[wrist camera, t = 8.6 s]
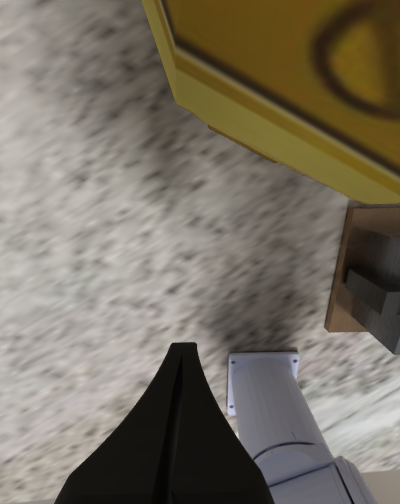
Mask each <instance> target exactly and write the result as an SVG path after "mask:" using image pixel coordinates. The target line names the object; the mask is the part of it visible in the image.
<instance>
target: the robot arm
mask: <svg viewBox="0 0 400 504" xmlns="http://www.w3.org/2000/svg"><path fill="white" fill-rule="evenodd" d="M294 359H295V360H294ZM299 360H300V355H299V354H298V352H257V353H231V354H230V355H229V359H228V393H227V413H228V414H229V415H236V420H237V426H238V433H239V439H240V441H239V439H238V438H237V436H236V435H235V433H234V431H233V430H232V428H231V427H230V425H229V423H228V422H227V420H226V419H225V417H224V415H223V413H222V411H221V410H220V408H219V406H218V404H217V402H216V400H215V398H214V396H213V394H212V392H211V390H210V387H209V385H208V383H207V380H206V378H205V375H204V372H203V369H202V367H201V363H200V360H199V356H198V351H197V344H196V343H195V342H184V343H172V344H171V345H170V348H169V350H168V353H167V355H166V357H165V359H164V361H163V363H162V364H161V366H160V368H159V370H158V372H157V373H156V375H155V377H154V378H153V380H152V382H151V383H150V385H149V386H148V388H147V389H146V391H145V392H144V394H143V395H142V397H141V398H140V399H139V401H138V402H137V403H136V405H135V406H134V407H133V409H132V410H131V411H130V412H129V414H128V415H127V416H126V417H125V419H124V420H123V421H122V422H121V423H120V425H119V426H118V427H117V428H116V429H115V430H114V431H113V432H112V433H111V435H110V436H109V437H108V438H107V439H106V440H105V441H104V442H103V443H102V444H101V445H100V446H99V447H98V448H97V449H96V450H95V451H94V452H93V453H92V454H91V455H90V456H89V457H88V458H87V459H86V460H85V461H84V462H83V463H82V464H81V465H80V466H79V467H77V468H76V469H75V470H74V471H73V472H72V473H71V474H70V475H69V477H68V479H67V480H66V482H65V484H64V486H63V488H62V490H61V491H60V493H59V495H58V497H57V499H56V501H55V503H54V504H377V502H376V500H375V498H374V497H373V495H372V493H371V491H370V490H369V488H368V486H367V484H366V483H365V481H364V479H363V477H362V476H361V474H360V472H359V471H358V469H357V467H356V466H355V464H354V463H352V462H350V461H348V460H346V459H345V458H344V457H343V456H338V457H336V458H334V457H333V455H332V454H331V452H330V450H329V448H328V446H327V444H326V442H325V440H324V438H323V436H322V434H321V431H320V429H319V427H318V425H317V423H316V421H315V419H314V417H313V415H312V413H311V411H310V409H309V407H308V404H307V402H306V400H305V398H304V396H303V394H302V392H301V390H300V388H299V386H298V384H297V382H296V378H297V372H298V366H299Z"/></svg>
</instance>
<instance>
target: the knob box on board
mask: <svg viewBox="0 0 400 504" xmlns="http://www.w3.org/2000/svg"><path fill="white" fill-rule="evenodd" d="M325 329H326V330H327V331H328V332H369V333H371V334H372V335H373V336H374V337H375V338H376V339H377V340H378V341H379V342H380V343H382V344H383V345H384V346H385V347H386V348H387V349H388V350H389V351H390V352H392V353H393V354H394V355H398V354H400V207H369V208H348V211H347V216H346V221H345V226H344V231H343V237H342V242H341V247H340V252H339V257H338V262H337V267H336V272H335V277H334V282H333V287H332V292H331V297H330V302H329V308H328V313H327V318H326V323H325Z"/></svg>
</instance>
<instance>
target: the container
mask: <svg viewBox="0 0 400 504" xmlns="http://www.w3.org/2000/svg"><path fill="white" fill-rule="evenodd" d="M141 1H142V4H143V7H144V10H145V13H146V16H147V19H148V22H149V25H150V28H151V31H152V34H153V37H154V40H155V42H156V45H157V48H158V51H159V54H160V57H161V60H162V63H163V66H164V69H165V72H166V75H167V78H168V81H169V84H170V87H171V90H172V93H173V96H174V99H175V102H176V104H177V105H179V106H181V107H183V108H185V109H187V110H188V111H190V112H192V113H194V114H195V115H196V116H197V117H198V118H199V119H200V120H201V121H203V122H205V123H207V124H208V127H209V128H210V129H212V130H214V131H215V132H217V133H219V134H221V135H223V136H225V137H227V138H228V139H230V140H232V141H234V142H236V143H238V144H240V145H241V146H243V147H245V148H247V149H249V150H251V151H253V152H254V153H256V154H258V155H260V156H262V157H264V158H266V159H267V160H269V161H271V162H273V163H278V162H279V163H281V164H282V165H284V166H286V167H288V168H290V169H292V170H294V171H295V172H297V173H300V174H302V175H304V176H307V177H309V178H311V179H314V180H316V181H319V182H321V183H323V184H325V185H327V186H329V187H330V188H332V189H334V190H336V191H338V192H340V193H341V194H343V195H345V196H347V197H349V198H351V199H352V200H354V201H356V202H358V203H360V204H400V0H141Z"/></svg>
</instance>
